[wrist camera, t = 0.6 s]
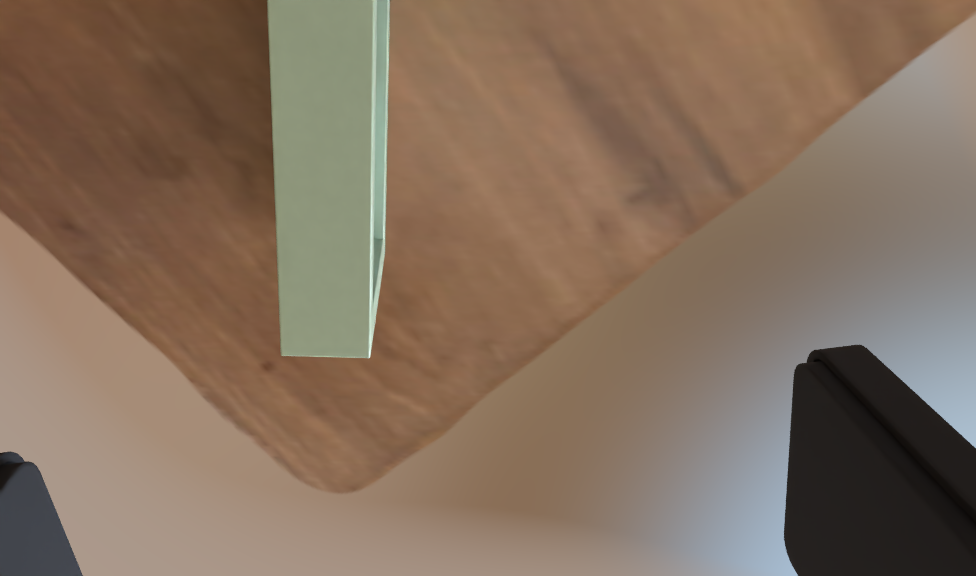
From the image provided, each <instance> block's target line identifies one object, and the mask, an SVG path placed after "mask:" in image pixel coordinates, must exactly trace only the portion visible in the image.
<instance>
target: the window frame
mask: <svg viewBox="0 0 976 576" xmlns="http://www.w3.org/2000/svg"><path fill="white" fill-rule="evenodd" d="M267 10H268V36H269V62H270V88H271V113H272V139H273V165H274V191H275V216H276V242H277V268H278V294H279V319H280V345H281V355H282V356H315V357H350V358H370V354H371V347H372V340H373V333H374V326H375V319H376V312H377V305H378V298H379V291H380V284H381V277H382V270H383V263H384V255H385V224H386V173H387V122H388V72H389V21H390V0H267Z"/></svg>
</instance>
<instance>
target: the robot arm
mask: <svg viewBox="0 0 976 576" xmlns="http://www.w3.org/2000/svg"><path fill="white" fill-rule="evenodd" d="M793 383H794V384H793V398H792V414H791V431H790V446H789V447H790V448H789V462H788V478H787V494H786V510H785V526H784V540H785V546H786V550H787V554H788V556H789V559H790V562H791V563H792V566H793V567H794V569H795V571H796V573H797V574H798V576H976V448H975V447H974V446H972V445H971V444H970V443H969V442H968V441H967V440H966V439H965V438H964V437H963V436H962V435H960V434H959V433H958V432H957V431H956V430H955V429H954V428H953V427H952V426H951V425H949V423H947V422H946V421H945V420H944V419H943V418H942V417H941V416H940V415H939V414H937V412H935V411H934V410H933V409H932V408H931V407H930V406H929V405H928V404H927V403H926V402H925V401H923V400H922V399H921V398H920V397H919V396H918V395H917V394H916V393H915V392H914V391H913V390H912V389H910V388H909V387H908V386H907V385H906V384H905V383H904V382H903V381H902V380H901V379H900V378H898V377H897V376H896V375H895V374H894V373H893V372H892V371H891V370H890V369H889V368H888V367H886V366H885V365H884V364H883V363H882V362H881V361H880V360H879V359H878V358H877V357H876V356H874V355H873V354H872V353H871V352H870V351H869V350H868V349H867V348H865V347H864V346H862V345H851V346H843V347H836V348H827V349H820V350H814V351H812V352H811V353H810V354H809V357H808V359H807V363H802V364H799V365H797V367H796V369H795V372H794V382H793ZM0 576H83V575H82V573H81V570H80V568H79V566H78V563H77V561H76V558H75V556H74V553H73V551H72V548H71V546H70V543H69V541H68V539H67V536H66V534H65V531H64V529H63V527H62V524H61V522H60V519H59V517H58V514H57V512H56V509H55V507H54V505H53V502H52V500H51V498H50V495H49V492H48V490H47V488H46V485H45V483H44V480H43V478H42V475H41V473H40V471H39V469H38V468H37V466H36V465H35V464H34V463H32V462H25V461H24V460H23V458H22V457H21V456H19V455H18V454H17V453H14V452H4V453H0Z"/></svg>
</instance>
